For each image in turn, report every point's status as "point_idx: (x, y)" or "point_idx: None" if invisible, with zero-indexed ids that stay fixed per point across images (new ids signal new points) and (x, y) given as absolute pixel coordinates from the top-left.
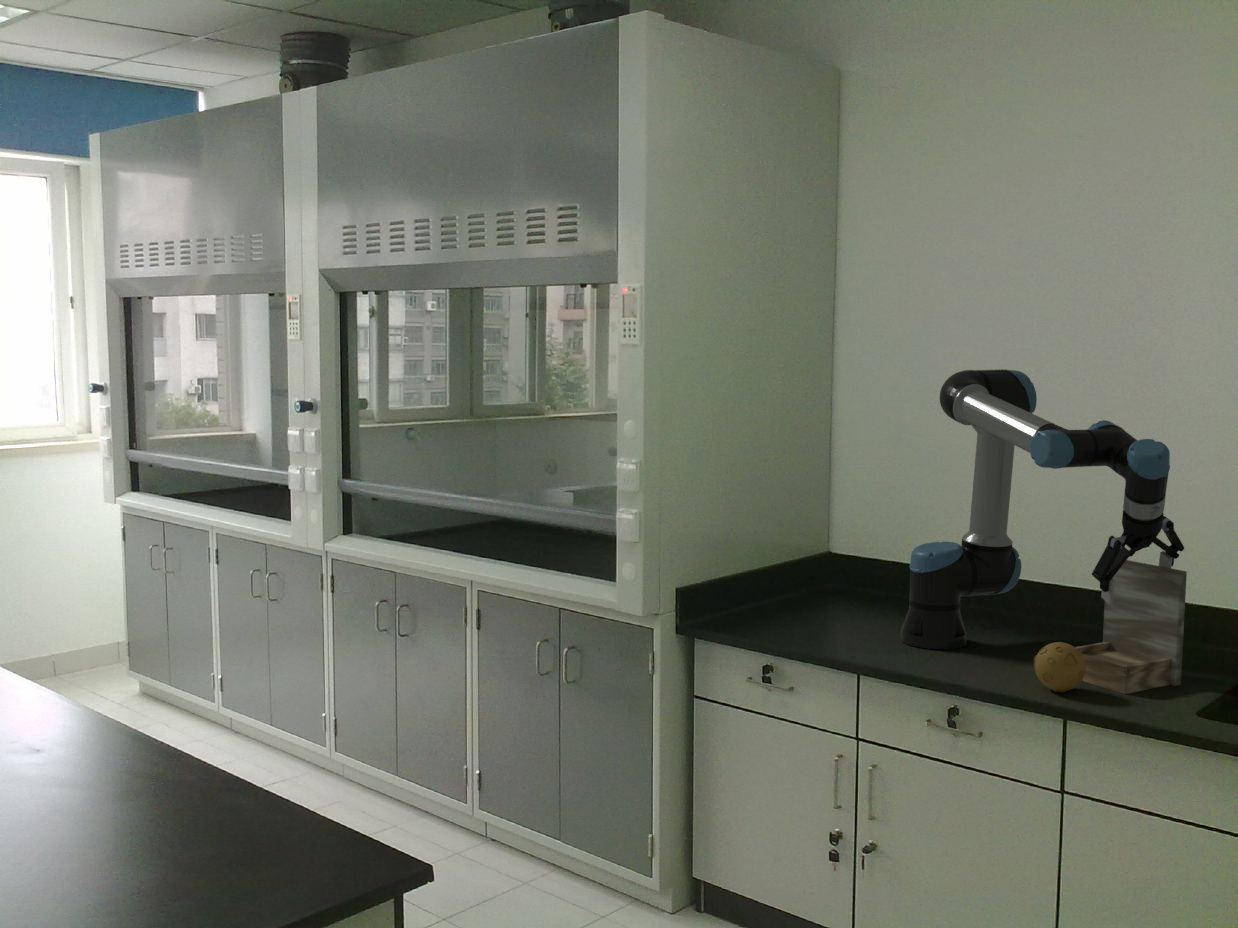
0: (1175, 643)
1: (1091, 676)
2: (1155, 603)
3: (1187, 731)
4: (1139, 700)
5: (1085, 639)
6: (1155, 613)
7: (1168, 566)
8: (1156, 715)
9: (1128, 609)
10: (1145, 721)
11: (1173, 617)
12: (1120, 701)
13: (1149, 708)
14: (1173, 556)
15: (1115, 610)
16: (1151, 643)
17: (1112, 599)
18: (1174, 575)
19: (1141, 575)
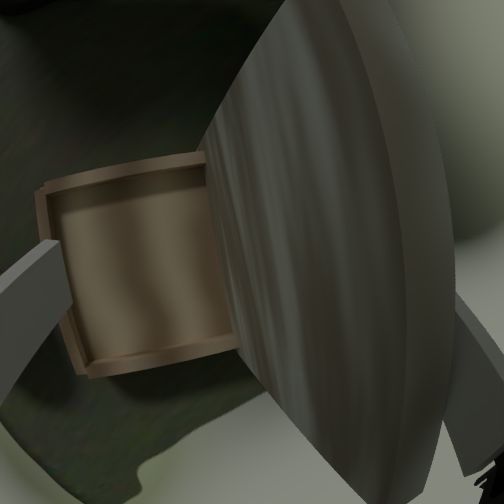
0: (253, 371)
1: None
2: (285, 341)
3: (91, 498)
4: (95, 393)
5: None
6: (268, 331)
7: (446, 426)
8: (81, 452)
9: (245, 203)
10: (53, 461)
11: (280, 396)
12: (59, 386)
13: (88, 428)
14: (493, 468)
15: (230, 147)
16: (234, 296)
17: (57, 319)
18: (373, 488)
19: (345, 278)
